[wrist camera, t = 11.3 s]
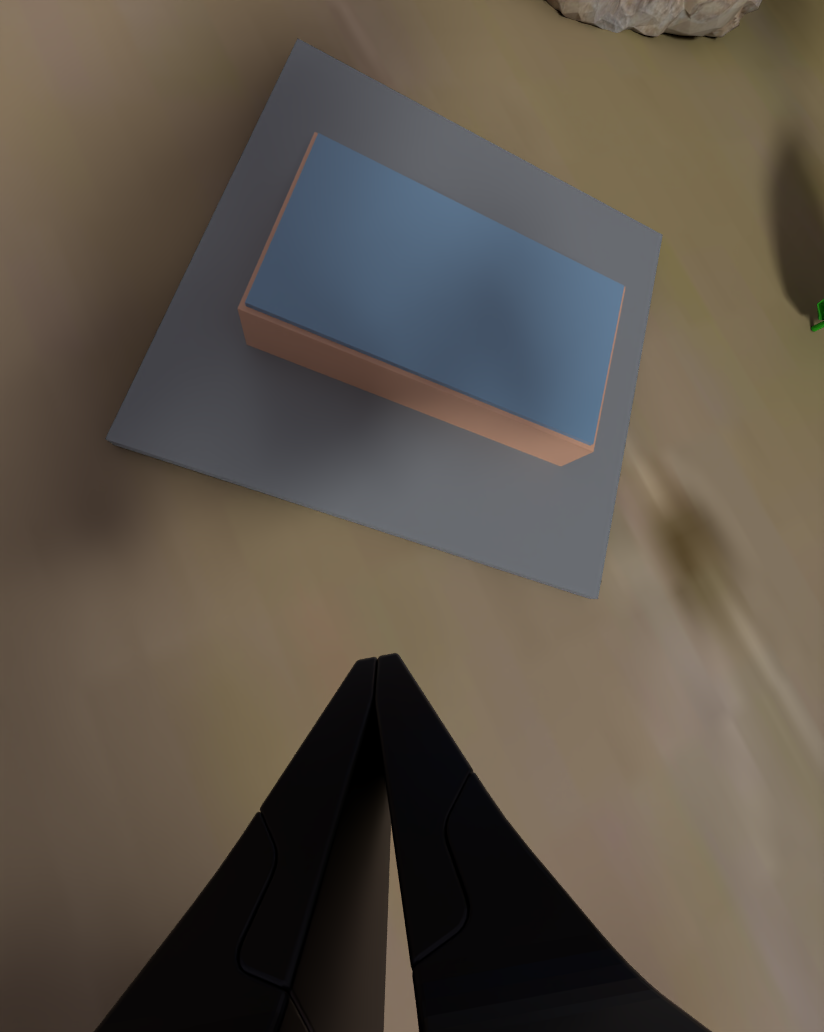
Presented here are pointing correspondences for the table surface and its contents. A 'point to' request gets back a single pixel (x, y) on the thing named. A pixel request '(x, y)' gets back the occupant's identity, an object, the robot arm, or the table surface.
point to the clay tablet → (659, 15)
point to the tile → (433, 306)
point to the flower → (819, 316)
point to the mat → (363, 415)
